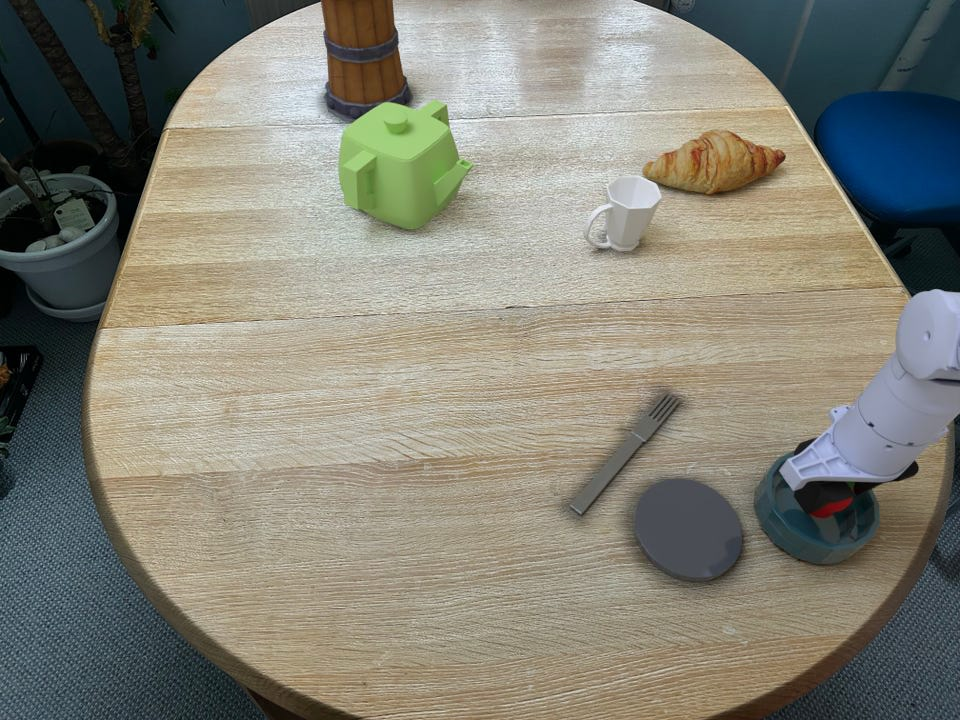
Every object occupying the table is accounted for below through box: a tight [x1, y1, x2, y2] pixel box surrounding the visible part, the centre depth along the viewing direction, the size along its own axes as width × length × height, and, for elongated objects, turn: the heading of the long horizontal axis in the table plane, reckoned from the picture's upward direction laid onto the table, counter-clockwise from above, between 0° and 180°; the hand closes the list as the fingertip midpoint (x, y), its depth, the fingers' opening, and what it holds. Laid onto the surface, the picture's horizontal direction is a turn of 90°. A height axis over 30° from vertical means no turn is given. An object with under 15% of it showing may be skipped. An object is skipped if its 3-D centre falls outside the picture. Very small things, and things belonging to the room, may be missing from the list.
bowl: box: [753, 450, 881, 565], centre depth 64 cm, size 10×10×4 cm
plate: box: [632, 477, 743, 583], centre depth 64 cm, size 10×10×1 cm
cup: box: [582, 174, 663, 252], centre depth 86 cm, size 7×10×8 cm
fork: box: [569, 391, 681, 517], centre depth 69 cm, size 18×2×1 cm, turn 139°
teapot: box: [337, 98, 474, 230], centre depth 88 cm, size 18×20×13 cm
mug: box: [320, 0, 414, 123], centre depth 103 cm, size 19×14×20 cm
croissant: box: [641, 128, 787, 195], centre depth 96 cm, size 21×10×8 cm, turn 100°
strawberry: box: [809, 481, 855, 518], centre depth 61 cm, size 4×4×5 cm
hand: (822, 496), depth 62 cm, fingers closed on strawberry, 4 cm apart
